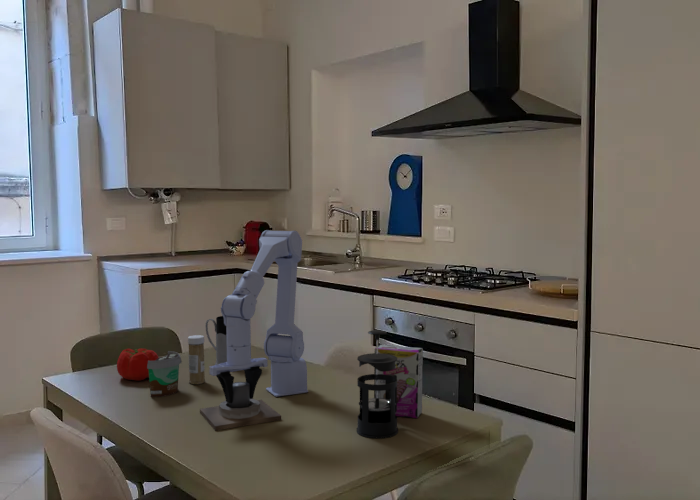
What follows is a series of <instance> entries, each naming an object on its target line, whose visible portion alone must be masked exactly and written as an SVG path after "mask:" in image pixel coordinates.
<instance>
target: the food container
mask: <svg viewBox="0 0 700 500" xmlns="http://www.w3.org/2000/svg"><path fill="white" fill-rule="evenodd" d="M158 357H159V358H158V359H156V360H155V361H148V364H147V369H148V370H149V378H148V379H149V381H148V382H149V391H150V394H149V395H150V397H151V398H159V397H161V398H162V397H167V396H172V395H175V394H176V393H178V390H179V389H178V388H179V375H180V372H179V371H180V364H182V362H183V361H182V358H181V355H180V353H179V352H176V351H174V350H173V351H171V350H168V351H167V354H166V355H164V356H158Z"/></svg>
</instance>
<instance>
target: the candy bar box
mask: <svg viewBox="0 0 700 500" xmlns="http://www.w3.org/2000/svg"><path fill="white" fill-rule="evenodd" d="M374 353H377V346H376V347H375V348H374ZM378 353H381V354H390V355H393V356H396V357H397V361H396V362H395V369H393V370H391V371H385V372H382V371H379V370H378V374H385V375H389V374H392V375H396V376H397V412H396V413H395V415H396V416H397V417H401V418H409V419H410V418H412V419H418V418H419V417H420V416H421V414H422V413H423V362H424V361H423V359H424V358H423V357H424V355H423V354H424V349H423V347H412V346H402V345H401V346H400V345H390V344H378ZM373 369H374V372H373V374H376V371H377V369H376V368H374V367H373ZM373 382H374V383H373V385H376V380H374V381H373ZM382 384H385V380H378V385H382ZM373 398H376V391H374V392H373ZM378 398H385V390H383V391H378Z"/></svg>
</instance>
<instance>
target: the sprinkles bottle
mask: <svg viewBox="0 0 700 500" xmlns="http://www.w3.org/2000/svg"><path fill="white" fill-rule="evenodd" d="M187 344H188V372H189V376H188V377H189V381H188V383H189V384H190V385H202V384H204V383H205V382H206V379H205V378H206V377H205V375H206V374H205V349H204V348H205V347H204V345H205V336H204V335H203V334H202V335H200V334H194V335H189V336H188V337H187Z"/></svg>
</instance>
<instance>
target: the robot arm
mask: <svg viewBox="0 0 700 500" xmlns="http://www.w3.org/2000/svg"><path fill="white" fill-rule="evenodd" d="M258 246H259V251H258V253H257V256H256V257H255V260H254V262H253V264H252V266H251V269H250V270H247V271H245V272H244V273H243V274H242V275H241V277H240V279H239V281H238V282H237V284H236V286H235V288H234V290H233V291H232V293H231V294H229V295H227V296H225V297H224V298H223V300H222V302H221V307H220V313H221V316H223V318H224V324H225V325H226V332H227V362H225V363H221V364H218V365H215V364H214V365H209V366H208V367H209V375H210V376H212V377H214V376H216V378H217V379H218V381H219V384H220V385H221V388H222V390H223V394H224V398H225V399H224V400H225V401H226V402H228V403H232V401H233V392H232V389H233V383H234V382H235V381H234V380H235V376H233V375H232V373H233V372H238V371H239V372H240V371H244V378H245V382H247V383H249V384H250V399H254V396H255V391H256V388H257V384H258V382H259V380H260V378H261V376H262V374H263V369H261V368H262V367H263V368H266V367H267V368H268V360H269V361H270V386H268V387H266V388H265V390H266V391H267V392H269V393H270V394H272V395H273V397H275V398H276V397H285V396H291V395H298V394H304V393H305V394H306V393H308V392H309V389H308V366H307V362H306V360H305V358H303V357H302V356H303V355H304V352H305V351H304V350H305V341H304V332H303V330H302V329H300V328H299V327H298V326H297V325H296V324H295V315H296V314H295V313H296V311H295V310H296V297H297V295H296V293H297V280H298V279H297V278H298V265H299V264H298V263H299V262H301V261H302V253H303V251H302V249H303V239H302V237H301V235H300V233H299V231H297V230H269V229H266V230H264V231H262V233H261V235H260V237H259V239H258ZM274 262H275V263H276V265H277V267H278V269H277V271H278V272H277V284H276V285H277V287H276V289H277V290H276V301H275V303H276V304H275V305H276V306H275V319H274V324H273V325H271V326H270V327H269V328H268V329H267V330H266V334H265V338H264V341H263V351H264V354H265V355H266V357H268V358H265V357H257V358H252V345H251V344H252V339H251V338H252V336H251V334H252V333H251V332H252V331H251V329H252V328H251V319H252V318H253V317H254V316H255V313H256V305H257V303H258V300H257V298H258V296H259V295H260V293H261V292H262V289H263V287H264V286H265V279H264V276H265V275H266V273H267V272H268V271H269V269H270V267H271V266H272V265H273V263H274Z"/></svg>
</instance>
